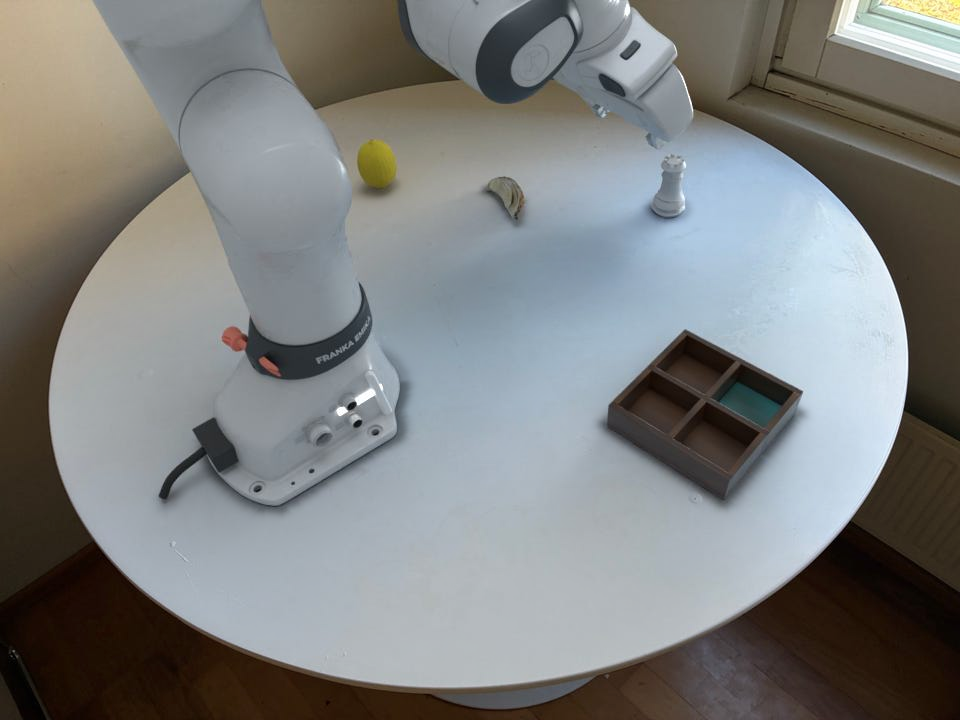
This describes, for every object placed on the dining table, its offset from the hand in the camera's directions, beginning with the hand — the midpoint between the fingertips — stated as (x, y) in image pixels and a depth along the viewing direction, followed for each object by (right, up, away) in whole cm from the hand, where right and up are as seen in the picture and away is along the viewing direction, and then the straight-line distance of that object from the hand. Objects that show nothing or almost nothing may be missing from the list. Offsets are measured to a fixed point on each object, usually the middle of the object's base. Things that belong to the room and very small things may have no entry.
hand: (630, 127), depth 90 cm
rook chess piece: (+8, -7, +16) cm, 19 cm away
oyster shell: (-14, -6, +19) cm, 24 cm away
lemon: (-32, -2, +24) cm, 40 cm away
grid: (+6, -34, -8) cm, 35 cm away
